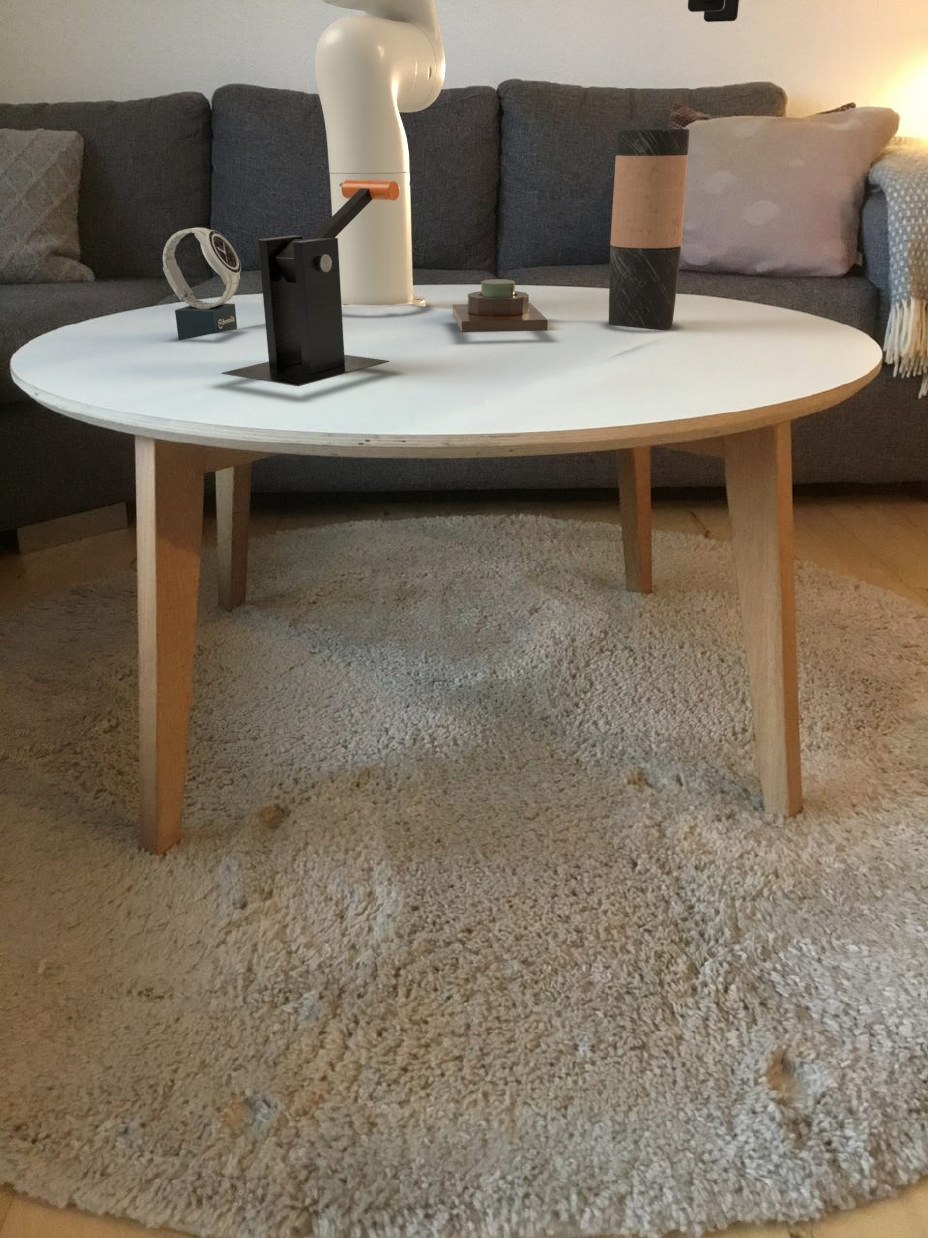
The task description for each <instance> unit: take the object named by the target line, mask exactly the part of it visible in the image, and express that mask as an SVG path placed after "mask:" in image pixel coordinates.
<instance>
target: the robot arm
mask: <svg viewBox="0 0 928 1238" xmlns="http://www.w3.org/2000/svg"><path fill="white" fill-rule="evenodd" d="M321 1H322V2H324V3H325V4H329V5H332V6H334V7H338V8H343V9H346V10H347V9H349V10H353V11H354V10H356V11H361V12H363V13H364V15H349V16H348V15H347V16H344V17H341V18H339V19H337V20H335V21H334V22H332V23H331V24H329V25H328V27H326V28H325V29H324V31H323V32H322V33H321V35H320V37H319V39H318V41H317V44H316V47H315V50H314V51H315V52H314V62H313V63H314V74H315V75H314V76H315V82H316V87H317V92H318V97H319V100H320V105H321V109H322V114H323V121H324V126H325V135H326V143H327V145H326V146H327V159H328V173H329V184H330V201H331V217H332V216H333V215H334V214H335V213H336V212H337V211H338V210H339V209H340V208H341V207H342V206H343V205H344V204H345V203H346V202H347V201H348V200H349V199H346V198H345V197H344V196H343V194H342V190H341V188H342V184H343V182H344V181H346V180H365V181H395V182H397V184H398V185H399V190H400V192H399V196H398V198H397V199H396V200H372V201H371V202H370V203H369V204H368V205H367V206H366V207H365V208H364V209H363V210H362V211H361V212H360V213H359V214H358V215H357V216H356V217H355V218H354V219H353V220H352V221H351V222H350V223H349V224H348V225H347V226H346V227H345V228H344V229H343V230H342V231H341V232H340V233H339V234H338V235H337V236H336V237H335V238H338V251H339V269H340V287H341V304H342V309H345V308H346V309H347V308H393V307H403V306H414V307H415V306H416V307H427V305H426V303H427V302H426V301H427V300H426V297H424V296H422V295H419V294H415V293H414V282H413V243H412V242H413V241H412V206H411V205H412V203H411V201H412V200H411V171H410V152H409V145H408V138H407V135H406V131H405V127H404V123H403V121H402V118H401V117H402V116H401V114H400V113H416V112H420V111H423V110H425V109H427V108H429V107H430V106H431V105H432V104H433V103H434V102H435V101H436V100H437V98H438V97H439V95H440V93H441V91H442V89H443V86H444V82H445V78H446V77H445V75H446V57H445V56H446V55H445V49H444V44H443V43H444V42H443V38H442V33H441V28H440V22H439V18H438V13H437V9H436V3H435V0H321ZM739 6H740V0H687V10H688V11H689V12H691V13H702V12H703V20H704V21H705V22H706V23H719V22H722V23H723V22H735V21H736V20H737V19H738V16H739V8H740V7H739Z"/></svg>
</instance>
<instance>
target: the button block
mask: <svg viewBox="0 0 928 1238" xmlns="http://www.w3.org/2000/svg"><path fill="white" fill-rule="evenodd" d="M466 297H467V303H461V304H455V303H453V304H451V305H452V307H451V309H452V310H451V311H452V312H451V313H452V314H451V315H452V316H453V318H454V320H455V322H456V324H457V326H458V329H459V330H460V332H461V333H491V332H494V333H495V332H496V333H497V332H529V331H530V332H532V331H533V332H534V331H536V332H537V331H539V332H541V331H548V328H549V327H548V325H549V323H548V322H549V319H548V318H547V317H546V316H544V315H543V314H542V313H541V312H540V311H539V310H538V309H537V308H536V307H535V306H534V305H533V304H532V303H530V295H529V294H528V293H527V292H524V291H518V290H515V296H512V297H484V296H481V290H479V291H472V292H470V293H468V294H467V296H466Z"/></svg>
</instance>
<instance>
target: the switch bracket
mask: <svg viewBox="0 0 928 1238" xmlns="http://www.w3.org/2000/svg"><path fill="white" fill-rule="evenodd" d="M294 239H302V240H303V241H295V242H293V246H294V260H295V273H296V283H291V282H286V280H285V278H284V276H283V273H282V271H281V269H280V267H279V265H278V262H277V260H276V256H277V255H278V254H280V253H281V252H282V251H283V250H284V249H285V248H286V247H287V246H288V245H289V244H290V243H291V242H292V241H293V240H294ZM257 241H258V242H257V243H258V255H259V264H260V265H259V266H260V276H261V288H262V299H263V301H262V302H263V311H264V322H265V334H266V344H267V345H266V346H267V357H268V361H265V362H261V363H257V364H253V365H249V366H244V367H239V368H236V369H235V368H234V369H230V370H226V371H223V372H221V373H220V374H222V375H226V376H227V375H228V376H234V377H238V378H239V377H240V378H246V379H249V380H250V379H251V380H256V381H257V380H258V381H264V382H268V383H274V384H275V383H276V384H280V385H288V386H294V387H300V386H304V385H308V384H312V383H315V382H320V381H323V380H326V379H330V378H334V377H338V376H342V375H346V374H349V373H353V372H356V371H360V370H363V369H367V368H371V367H375V366H379V365H382V364H386V363H389V362H390V360H386V359H381V358H372V357H365V356H358V355H351V354H345V343H344V325H343V308H342V304H341V287H340V269H339V251H338V238H321V239H312V240H309V239H304V238H303V236H302V235H286V236H277V237H275V236H274V237H266V238H260V239H258V240H257Z"/></svg>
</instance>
